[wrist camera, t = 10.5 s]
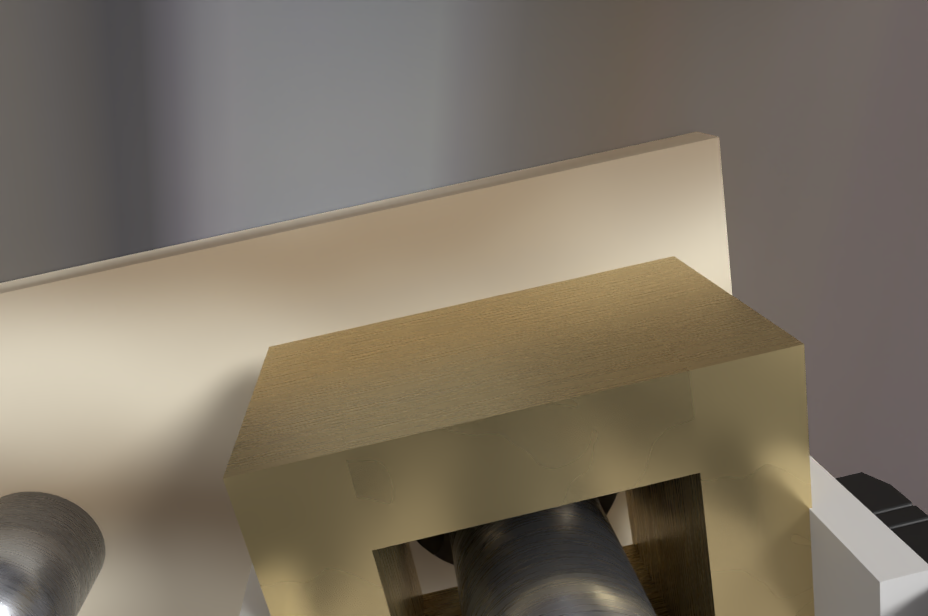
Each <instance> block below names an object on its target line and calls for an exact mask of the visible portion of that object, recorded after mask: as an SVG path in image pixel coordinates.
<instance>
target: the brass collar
mask: <svg viewBox="0 0 928 616" xmlns="http://www.w3.org/2000/svg"><path fill="white" fill-rule="evenodd" d="M223 481H224V484H225V487H226V489H227V492H228V495H229V498H230V501H231V504H232V507H233V509H234V512H235V515H236V518H237V521H238V524H239V526H240V529H241V532H242V535H243V538H244V541H245V544H246V546H247V549H248V552H249V555H250V558H251V561H252V563H253V566H254V569H255V572H256V575H257V578H258V581H259V583H260V586H261V589H262V592H263V595H264V598H265V601H266V603H267V606H268V609H269V612H270V615H271V616H462V612H461V606H460V599H459V593H458V587H457V586H456V587H452V588H448V589H444V590H440V591H435V592H431V593H427V594H423V593H422V589H421V585H420V582H419V578H418V574H417V570H416V567H415V563H414V559H413V555H412V551H411V548H410V544H409V542H410V541H415V540H419V539H423V538H427V537H431V536H436V535H440V534H444V533H448V532H453V531H457V530H461V529H465V528H469V527H474V526H478V525H482V524H486V523H490V522H495V521H499V520H503V519H507V518H512V517H516V516H520V515H524V514H528V513H533V512H537V511H541V510H545V509H549V508H554V507H558V506H562V505H566V504H571V503H575V502H579V501H583V500H587V499H592V498H596V497H600V496H604V495H608V494H613V493H617V492H621V491H625V494H626V501H627V508H628V515H629V522H630V528H631V535H632V542H633V544H631V545H627V546H623V549H624V551H625V553H626V555H627V557H628V559H629V561H630V563H631V565H632V567H633V569H634V571H635V573H636V575H637V577H638V579H639V581H640V583H641V585H642V587H643V589H644V591H645V593H646V595H647V597H648V599H649V601H650V603H651V605H652V607H653V609H654V611H655V613H656V615H657V616H815V612H814V592H813V572H812V553H811V533H810V513H809V508H812V497H811V477H810V456H809V436H808V416H807V395H806V375H805V355H804V344H803V343H801V342H800V341H799V340H797V339H796V338H794V337H793V336H791V335H790V334H788V333H787V332H785V331H784V330H782V329H781V328H779V327H778V326H776V325H775V324H773V323H772V322H771V321H769V320H768V319H766V318H765V317H763V316H762V315H760V314H759V313H757V312H756V311H754V310H753V309H751V308H750V307H748V306H747V305H745V304H744V303H742V302H741V301H740V300H738V299H737V298H735V297H734V296H732V295H731V294H729V293H728V292H726V291H725V290H723V289H722V288H720V287H719V286H717V285H716V284H714V283H713V282H712V281H710V280H709V279H707V278H706V277H704V276H703V275H701V274H700V273H698V272H697V271H695V270H694V269H692V268H691V267H689V266H688V265H686V264H685V263H684V262H682V261H681V260H679V259H678V258H676V257H675V256H672V257H667V258H663V259H658V260H654V261H650V262H645V263H641V264H636V265H632V266H627V267H623V268H618V269H614V270H609V271H605V272H600V273H596V274H592V275H587V276H583V277H578V278H574V279H569V280H565V281H560V282H556V283H551V284H547V285H543V286H538V287H534V288H529V289H525V290H520V291H516V292H511V293H507V294H502V295H498V296H493V297H489V298H485V299H480V300H476V301H471V302H467V303H462V304H458V305H453V306H449V307H444V308H440V309H436V310H431V311H427V312H422V313H418V314H413V315H409V316H404V317H400V318H395V319H391V320H387V321H382V322H378V323H373V324H369V325H364V326H360V327H355V328H351V329H346V330H342V331H337V332H333V333H329V334H324V335H320V336H315V337H311V338H306V339H302V340H297V341H293V342H288V343H284V344H280V345H275V346H271V347H269V349H268V351H267V354H266V357H265V360H264V363H263V366H262V368H261V371H260V374H259V377H258V380H257V383H256V385H255V388H254V391H253V394H252V397H251V400H250V403H249V405H248V408H247V411H246V414H245V417H244V420H243V422H242V425H241V428H240V431H239V434H238V437H237V439H236V442H235V445H234V448H233V451H232V454H231V456H230V459H229V462H228V465H227V468H226V471H225V474H224V476H223Z"/></svg>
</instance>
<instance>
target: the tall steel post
mask: <svg viewBox="0 0 928 616" xmlns="http://www.w3.org/2000/svg"><path fill="white" fill-rule="evenodd" d="M617 493H618V492H617ZM617 493H613V494H608V495H604V496H600V497H596V498H592V499H587V500H583V501H579V502H575V503H571V504H566V505H562V506H558V507H554V508H549V509H545V510H541V511H537V512H533V513H528V514H524V515H520V516H516V517H512V518H507V519H503V520H499V521H495V522H490V523H486V524H482V525H478V526H474V527H469V528H465V529H461V530H457V531H453V532H448V533H444V534H440V535H436V536H431V537H427V538H423V539H419V540H416V541H417V542H418V543H419V544H420V545H421V546H422V547H424V548H425V549H426V550H427V551H429V552H430V553H431V554H433V555H435V556H436V557H438V558H440V559H442V560H443V561H445V562H448V563H450V564H453V565H454V568H455V574H456V580H457V587H458V593H459V599H460V606H461V612H462V616H657V615H656V613H655V611H654V609H653V607H652V605H651V603H650V601H649V599H648V597H647V595H646V593H645V591H644V589H643V587H642V585H641V583H640V581H639V579H638V577H637V575H636V573H635V571H634V569H633V567H632V565H631V563H630V561H629V559H628V557H627V555H626V553H625V551H624V549H623V547H622V546H621V544H620V542H619V540H618V538H617V536H616V534H615V532H614V530H613V528H612V526H611V524H610V522H609V520H608V518H607V516H606V515H607V514H608V512H609V510H610V508H611V506H612V504H613V503H614V501H615V498H616V496H617Z"/></svg>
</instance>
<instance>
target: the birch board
mask: <svg viewBox="0 0 928 616" xmlns="http://www.w3.org/2000/svg"><path fill="white" fill-rule="evenodd" d="M672 256H675V257H676V258H678V259H679V260H681V261H682V262H684V263H685V264H686V265H688V266H689V267H691V268H692V269H694V270H695V271H697V272H698V273H700V274H701V275H703V276H704V277H706V278H707V279H709V280H710V281H712V282H713V283H714V284H716V285H717V286H719V287H720V288H722V289H723V290H725V291H726V292H728V293H729V294H731V295H732V288H731V276H730V264H729V252H728V239H727V227H726V215H725V203H724V191H723V179H722V167H721V155H720V143H719V137H717V136H713V135H709V134H704V133H700V132H693V133H688V134H684V135H679V136H675V137H670V138H665V139H661V140H656V141H652V142H647V143H642V144H638V145H633V146H629V147H624V148H619V149H615V150H610V151H606V152H601V153H596V154H592V155H587V156H583V157H578V158H573V159H569V160H564V161H560V162H555V163H550V164H546V165H541V166H537V167H532V168H527V169H523V170H518V171H514V172H509V173H504V174H500V175H495V176H491V177H486V178H481V179H477V180H472V181H468V182H463V183H458V184H454V185H449V186H445V187H440V188H435V189H431V190H426V191H422V192H417V193H412V194H408V195H403V196H399V197H394V198H389V199H385V200H380V201H376V202H371V203H366V204H362V205H357V206H353V207H348V208H343V209H339V210H334V211H330V212H325V213H320V214H316V215H311V216H307V217H302V218H297V219H293V220H288V221H284V222H279V223H274V224H270V225H265V226H261V227H256V228H251V229H247V230H242V231H238V232H233V233H228V234H224V235H219V236H215V237H210V238H205V239H201V240H196V241H192V242H187V243H182V244H178V245H173V246H169V247H164V248H159V249H155V250H150V251H146V252H141V253H136V254H132V255H127V256H123V257H118V258H113V259H109V260H104V261H100V262H95V263H90V264H86V265H81V266H77V267H72V268H67V269H63V270H58V271H54V272H49V273H44V274H40V275H35V276H31V277H26V278H21V279H17V280H12V281H8V282H3V283H0V497H3V496H6V495H9V494H12V493H18V492H30V491H31V492H43V493H49V494H53V495H57V496H60V497H62V498H65V499H67V500H69V501H71V502H73V503H75V504H76V505H78V506H79V507H81V508H82V509H83V510H85V511H86V512H87V513H88V514H89V515H90V516H91V517H92V518H93V519H94V521H95V522H96V524H97V525H98V527H99V529H100V530H101V532H102V535H103V538H104V542H105V561H104V564H103V567H102V569H101V571H100V573H99V575H98V577H97V579H96V581H95V583H94V585H93V586H92V588H91V590H90V592H89V594H88V596H87V598H86V600H85V602H84V604H83V605H82V607H81V609H80V611H79V613H78V615H77V616H239V615H240V611H241V607H242V603H243V599H244V595H245V590H246V586H247V582H248V578H249V574H250V570H251V565H252V561H251V558H250V555H249V552H248V549H247V546H246V544H245V541H244V538H243V535H242V532H241V529H240V526H239V524H238V521H237V518H236V515H235V512H234V509H233V507H232V504H231V501H230V498H229V495H228V492H227V489H226V487H225V484H224V481H223V476H224V474H225V471H226V468H227V465H228V462H229V459H230V456H231V454H232V451H233V448H234V445H235V442H236V439H237V437H238V434H239V431H240V428H241V425H242V422H243V420H244V417H245V414H246V411H247V408H248V405H249V403H250V400H251V397H252V394H253V391H254V388H255V385H256V383H257V380H258V377H259V374H260V371H261V368H262V366H263V363H264V360H265V357H266V354H267V351H268V349H269V347H271V346H275V345H280V344H284V343H288V342H293V341H297V340H302V339H306V338H311V337H315V336H320V335H324V334H329V333H333V332H337V331H342V330H346V329H351V328H355V327H360V326H364V325H369V324H373V323H378V322H382V321H387V320H391V319H395V318H400V317H404V316H409V315H413V314H418V313H422V312H427V311H431V310H436V309H440V308H444V307H449V306H453V305H458V304H462V303H467V302H471V301H476V300H480V299H485V298H489V297H493V296H498V295H502V294H507V293H511V292H516V291H520V290H525V289H529V288H534V287H538V286H543V285H547V284H551V283H556V282H560V281H565V280H569V279H574V278H578V277H583V276H587V275H592V274H596V273H600V272H605V271H609V270H614V269H618V268H623V267H627V266H632V265H636V264H641V263H645V262H650V261H654V260H658V259H663V258H667V257H672ZM606 516H607V518H608V520H609V522H610V524H611V526H612V528H613V530H614V532H615V534H616V536H617V538H618V540H619V542H620V544H621V546H622V547H623V546H627V545H631V544H633V542H632V535H631V528H630V522H629V515H628V508H627V501H626V494H625V491H621V492H618V493H617V496H616V498H615V501H614V503H613V504H612V506H611V508H610V510H609V512H608V514H607V515H606ZM409 544H410V548H411V551H412V555H413V559H414V563H415V567H416V570H417V574H418V578H419V582H420V585H421V589H422V593H423V594H427V593H431V592H435V591H440V590H444V589H448V588H452V587H456V586H457V580H456V574H455V568H454V565H453V564H450V563H448V562H445V561H443V560H442V559H440V558H438V557H436V556H435V555H433V554H431V553H430V552H429V551H427V550H426V549H425V548H424V547H422V546H421V545H420V544H419V543H418V542H417V541H416V540H415V541H410V542H409Z"/></svg>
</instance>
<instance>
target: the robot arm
mask: <svg viewBox="0 0 928 616" xmlns="http://www.w3.org/2000/svg"><path fill="white" fill-rule="evenodd" d="M809 456H810V455H809ZM810 477H811V497H812V508H809V513H810V533H811V553H812V572H813V592H814V612H815V616H928V515H926V514H925V513H924V512H923V511H922V510H920V509H919V508H918V507H917V506H913V505H912V502H911V501H910V500H908V499H907V498H906V497H905V496H904V495H902V494H901V493H900V492H899V491H898V490H896V489H895V488H894V487H893V486H892V485H890V484H888V483H885V482H883V481H881V480H878V479H876V478H874V477H871V476H869V475H867V474H864V473H862V472H861V473H857V474H853V475H849V476H845V477H840V478H836V479H835V478H834V477H833V476H832V475H831V474H829V473H828V472H827V471H826V470H825V469H824V468H823V467H822V466H821V465H820V464H819V463H817V462H816V461H815V460H814V459H813V458H812V457H811V456H810ZM239 616H271V615H270V612H269V609H268V606H267V603H266V601H265V598H264V595H263V592H262V589H261V586H260V583H259V581H258V578H257V575H256V572H255V569H254V566H253V563H252V565H251V570H250V574H249V578H248V582H247V586H246V590H245V595H244V599H243V603H242V607H241V611H240V615H239Z"/></svg>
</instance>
